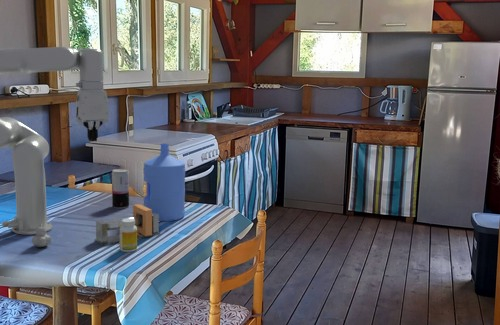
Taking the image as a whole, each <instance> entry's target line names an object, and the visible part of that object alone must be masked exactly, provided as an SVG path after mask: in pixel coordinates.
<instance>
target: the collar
mask: <svg viewBox="0 0 500 325" xmlns="http://www.w3.org/2000/svg"><path fill="white" fill-rule="evenodd" d="M140 214H141V215H143V225H142V226H136V227H137V232H139V233H141V234H142V235H144V236H148V237H151V236H150V235H152V210H151V209H149V208H147V207H145V206H144V204H141V203H136V204H132V217H133V216H136V215H140Z"/></svg>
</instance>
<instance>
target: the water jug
mask: <svg viewBox="0 0 500 325" xmlns="http://www.w3.org/2000/svg"><path fill="white" fill-rule="evenodd" d="M159 145H160V149H159V150H160V154H159V155H157V156H155V157H153V158H150V159H148V160H146V161H145V162H143V181H144V182H145V183H146V195H145V196H144V198H143V206H145V207H147V208H149V209H151V210H152V212H154V213H156V214H159V222H173V221H178V220H181V219H182V218H184V216H185V214H186V209H185V199H186V198H185V196H186V188H185V187H186V186H185V185H186V183H185V180H186V179H185V178H186V163H185V162H184V161H182V160H181V159H178V158H176V157H174V156H172V155H170V148H169V146H170V143H160V144H159Z"/></svg>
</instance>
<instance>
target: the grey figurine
mask: <svg viewBox="0 0 500 325" xmlns="http://www.w3.org/2000/svg"><path fill="white" fill-rule="evenodd" d="M51 240H52V238H51V236H50V234H49V235H48V234H47V232H46V228H45V226H44V225H41V222H40V226H39V225H38V226H37V228H36V234H34V236H33V237H31V242H32V245H33V246H35V248H36V247H37V248H42V247H43V248H44V247H47V246H48V245H50V243H51V242H52V241H51Z"/></svg>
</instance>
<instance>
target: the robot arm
mask: <svg viewBox="0 0 500 325" xmlns="http://www.w3.org/2000/svg"><path fill="white" fill-rule="evenodd" d="M103 54H104V53H103V50H101V49H98V48H81V49H80V48H74V47H70V46H69V47H68V46H50V47H49V46H48V47H34V48H33V47H31V48H29V47H9V48H0V76H1V77H2V76H13V75H15V76H16V75H17V76H18V75H30V74H34V73H44V72H45V73H47V72H67V71H75V70H79V81H78V82H76V83H75V87H76V88H78V89H79V90H77V95H76V101H75V102H76V103H75V117H76V121H75V122H76V124H77V125H82V126H84V127H85V129H86V131H87V139H88V141H90V142H97V141H98V137H99V131H98V130H99V129H100V127H101V126H102V125H105V124H107V123H109V120H108V119H109V118H110V108H109V98H108V94H107V93H108V92H107V90H104V55H103ZM7 147H8V148H9V149H11V150H12V155H11V159H12V166H13V172H14V186H15V188H14V189H15V205H16V208H15V209H16V216H13V218H14V219H11V220H9V221H8V220H7V221H1V227H2V228H7V229H12V233H15V234H17V235H25V236H26V235H27V236H28V235H30V236H31V235H37V234H36V228H37V226H38V225H39V226H40V222H41V225H44V226H45V228H46V233H47V232H49V231H50V230H51V229H52V228H53V225H52V224H53V223H51V222H49V221H48V213H47V212H48V209H47V191H46V190H47V189H46V187H47V184H46V172H45V171H46V170H45V163H44V162H45V161H44V159H46V157H47V156H48V155H49V152H50V145H49V143H48V141H47V139H46V138H45V137H43V136H42V135H41V134H39V133H37V132H36V131H34V130H33V129H31V128H30V127H28V126H27V125H25V124H23V123H22V122H21V121H20V120H19V121H18V120H17V119H16V118H12V117H9V116H4V117H0V149H3V148H4V149H5V148H7Z"/></svg>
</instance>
